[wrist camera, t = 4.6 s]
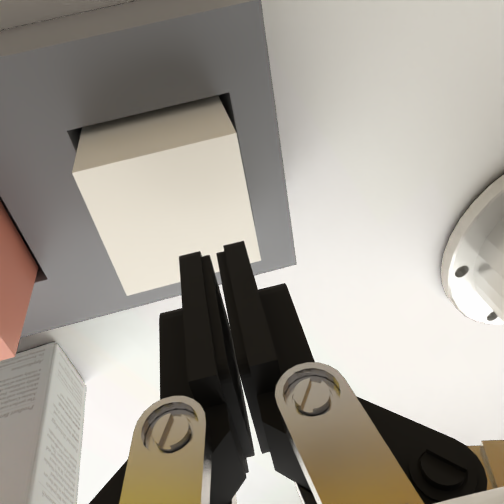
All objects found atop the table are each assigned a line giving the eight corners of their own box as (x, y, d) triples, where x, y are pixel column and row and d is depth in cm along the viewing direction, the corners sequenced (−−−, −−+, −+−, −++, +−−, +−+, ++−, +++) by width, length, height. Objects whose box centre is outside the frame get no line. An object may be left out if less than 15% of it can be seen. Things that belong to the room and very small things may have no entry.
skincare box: (-7, 413, 28) (-79, 675, 18) (-53, 367, 25) (-166, 646, 16) (92, 382, 28) (73, 625, 19) (57, 332, 25) (13, 587, 16)
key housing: (230, -21, 17) (260, -2, 13) (268, 205, 23) (296, 264, 20) (-213, 76, 16) (-323, 129, 12) (-54, 287, 22) (-94, 367, 18)
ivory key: (213, 85, 17) (236, 132, 13) (236, 196, 19) (261, 260, 16) (85, 116, 16) (71, 172, 13) (127, 224, 19) (127, 295, 15)
